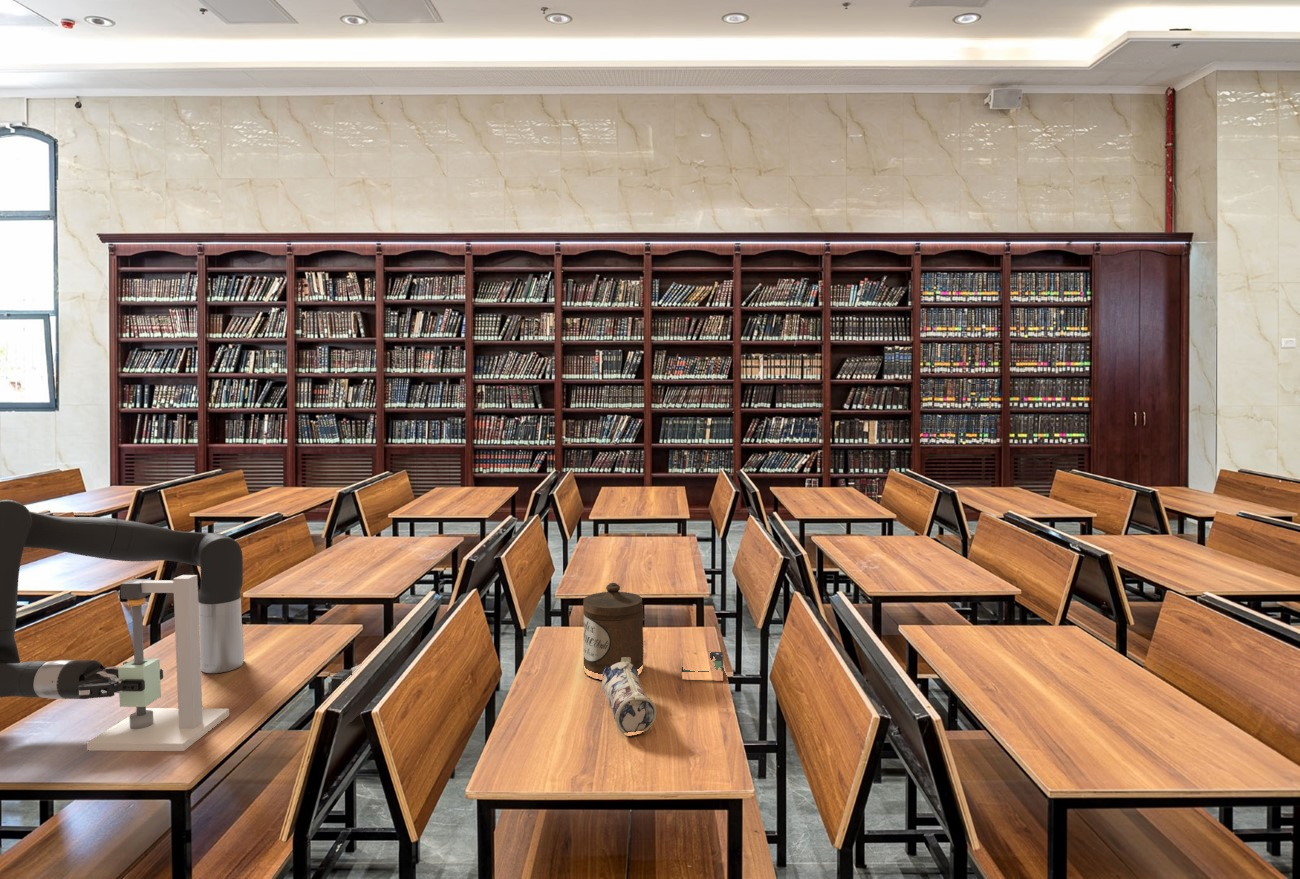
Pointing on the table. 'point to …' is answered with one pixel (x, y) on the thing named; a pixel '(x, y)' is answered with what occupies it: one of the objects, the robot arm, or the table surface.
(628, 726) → the pencil case
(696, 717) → the table surface
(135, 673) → the pale green block
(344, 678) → the ink cartridge
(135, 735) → the sliding block stand
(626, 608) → the wooden container
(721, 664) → the disk drive
